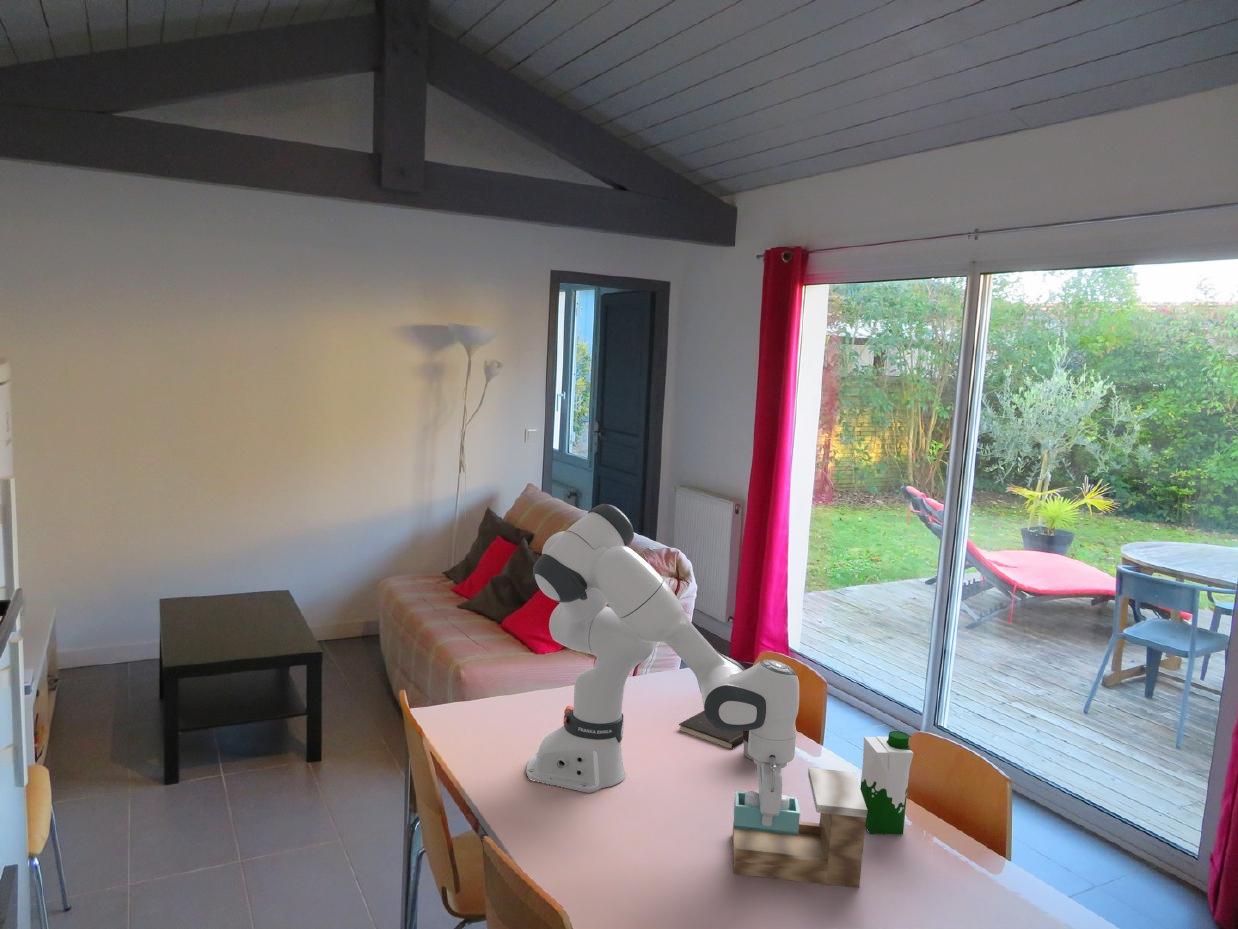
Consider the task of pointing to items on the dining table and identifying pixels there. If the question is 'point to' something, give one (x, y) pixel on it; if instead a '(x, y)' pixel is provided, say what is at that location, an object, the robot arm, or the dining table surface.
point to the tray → (751, 816)
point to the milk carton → (886, 782)
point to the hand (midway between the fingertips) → (765, 814)
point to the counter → (812, 838)
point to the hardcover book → (711, 731)
